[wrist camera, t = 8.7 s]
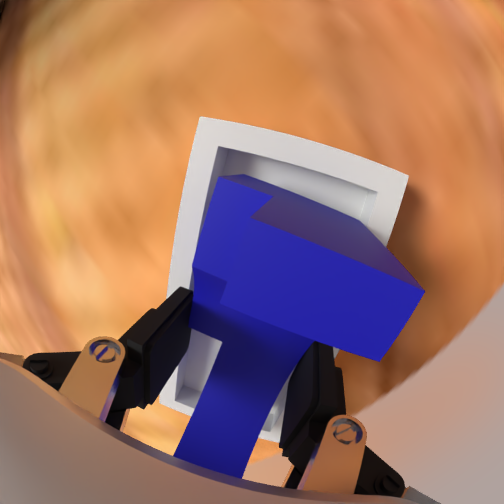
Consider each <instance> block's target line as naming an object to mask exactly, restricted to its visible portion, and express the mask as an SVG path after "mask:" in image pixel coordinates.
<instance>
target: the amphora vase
mask: <svg viewBox="0 0 504 504" xmlns="http://www.w3.org/2000/svg"><path fill="white" fill-rule="evenodd" d="M3 5H4V0H0V15H1V12H2V9H3Z"/></svg>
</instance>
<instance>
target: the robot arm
mask: <svg viewBox="0 0 504 504" xmlns="http://www.w3.org/2000/svg"><path fill="white" fill-rule="evenodd" d="M192 302H193V291H192V290H190V289H187V288H184V287H181V286H180V287H179V288H178V289H177V290H176V291H174V292H173V293H172V294H171V295H170V296H169V297H168V298H167V299H166V300H165V301H164V302H163V303H162V304H161V305H160V306H159V307H158V308H157V309H154V308H151V309H150V310H149V311H148V312H146V313H145V314H144V315H143V316H142V317H141V318H140V319H139V320H138V321H137V322H136V323H135V324H134V325H133V326H132V327H131V328H130V329H129V330H128V331H127V332H126V333H125V334H124V335H123V336H122V337H121V338H120V339H119V340H116V339H114V338H111V337H97V338H93V339H92V340H90V341H89V342H88V343H87V344H86V345H85V347H84V349H83V350H82V351H80V352H57V353H36V354H33V355H30V356H29V357H28V358H26V359H24V356H22V355H14V354H7V353H1V352H0V504H441V503H439V502H436V501H435V500H433V499H431V498H430V497H428V496H426V495H424V494H422V493H420V492H419V491H417V490H415V489H414V488H412V487H410V486H409V487H407V488H406V487H405V484H404V480H403V478H402V477H401V476H400V475H399V474H398V473H397V472H396V471H395V470H393V468H391V467H390V466H389V465H388V464H387V463H385V462H384V461H383V460H382V459H381V458H379V457H378V456H377V455H376V454H375V453H374V452H373V451H372V450H370V449H369V448H368V447H367V446H366V445H365V444H366V438H367V432H366V430H365V427H364V426H363V424H362V423H361V422H360V421H359V420H357V419H356V418H354V417H352V416H348V415H346V408H345V396H344V386H343V376H342V370H341V368H339V367H335V363H334V353H333V347H332V346H329V345H326V344H323V343H320V342H318V341H314V342H313V343H312V344H311V346H310V347H309V348H308V349H307V350H306V352H305V353H304V355H303V356H302V357H301V359H300V360H299V362H298V363H297V365H296V367H295V369H294V371H293V373H292V375H291V377H290V379H289V383H288V388H287V396H286V403H285V410H284V417H283V423H282V430H281V436H280V442H279V448H282V449H283V453H282V456H285V457H288V459H289V461H290V462H291V463H292V466H291V468H290V470H289V472H288V474H287V476H286V478H285V480H284V482H283V484H282V486H281V487H277V486H271V485H267V484H262V483H257V482H253V481H249V480H244V479H240V478H237V477H233V476H229V475H226V474H222V473H219V472H216V471H212V470H209V469H206V468H203V467H200V466H197V465H195V464H192V463H189V462H186V461H184V460H181V459H179V458H176V457H174V456H171V455H169V454H166V453H164V452H162V451H160V450H157V449H155V448H153V447H151V446H149V445H146V444H144V443H142V442H140V441H138V440H136V439H134V438H132V437H130V436H128V435H126V434H125V433H123V431H124V428H125V424H126V421H127V418H128V414H129V411H130V408H136V406H138V407H140V408H142V409H145V407H146V406H147V404H151V405H152V404H153V403H154V401H155V400H156V398H157V397H158V395H159V394H160V392H161V391H162V389H163V388H164V386H165V384H166V383H167V381H168V380H169V378H170V377H171V375H172V374H173V372H174V370H175V369H176V367H177V366H178V364H179V363H180V361H181V360H182V358H183V357H184V355H185V353H186V352H187V350H188V347H189V342H190V336H191V330H192V328H190V327H188V325H189V317H190V313H191V308H192Z"/></svg>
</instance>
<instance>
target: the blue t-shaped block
mask: <svg viewBox="0 0 504 504" xmlns="http://www.w3.org/2000/svg"><path fill="white" fill-rule="evenodd" d="M192 269H193V274H194V295H193V302H192V308H191V313H190V317H189V325H188V327H190V328H192V329H194V330H196V331H198V332H201V333H203V334H205V335H207V336H210V337H212V338H214V339H217V340H219V341H221V342H222V344H221V347H220V349H219V352H218V354H217V357H216V359H215V362H214V364H213V367H212V369H211V372H210V374H209V376H208V379H207V381H206V384H205V386H204V388H203V391H202V393H201V395H200V398H199V400H198V402H197V405H196V407H195V409H194V412H193V414H192V416H191V418H190V421H189V423H188V425H187V427H186V429H185V432H184V434H183V436H182V438H181V440H180V442H179V445H178V447H177V449H176V451H175V453H174V455H173V456H174V457H176V458H179V459H181V460H184V461H186V462H189V463H192V464H195V465H197V466H200V467H203V468H206V469H209V470H212V471H216V472H219V473H222V474H226V475H229V476H233V477H237V478H240V479H242V477H243V473H244V471H245V468H246V466H247V463H248V460H249V458H250V455H251V453H252V451H253V448H254V446H255V443H256V441H257V439H258V436H259V434H260V432H261V430H262V427H263V425H264V423H265V421H266V419H267V417H268V415H269V413H270V411H271V409H272V407H273V405H274V403H275V401H276V399H277V397H278V395H279V393H280V391H281V389H282V388H283V386H284V384H285V382H286V381H287V379H288V377H289V376H290V374H291V372H292V371H293V369H294V368H295V366H296V364H297V363H298V362H299V360H300V359H301V357H302V356H303V355H304V353H305V352H306V350H307V349H308V348H309V347H310V346H311V344H312V343H313V342H314V341H318V342H320V343H323V344H326V345H329V346H332V347H335V348H338V349H341V350H344V351H347V352H350V353H353V354H356V355H359V356H362V357H366V358H369V359H372V360H375V361H379V362H380V360H381V359H382V357H383V356H384V355H385V353H386V352H387V351H388V349H389V348H390V346H391V345H392V344H393V342H394V341H395V339H396V338H397V336H398V335H399V333H400V332H401V330H402V329H403V327H404V326H405V324H406V323H407V321H408V319H409V318H410V316H411V315H412V313H413V311H414V310H415V308H416V306H417V305H418V303H419V301H420V300H421V298H422V296H423V294H424V293H425V290H424V289H423V288H422V287H421V286H420V285H419V283H418V282H417V281H416V280H415V279H414V278H413V276H412V275H411V274H410V273H409V272H408V271H407V270H406V269H405V267H404V266H403V265H402V264H401V263H400V262H399V261H398V260H397V259H396V258H395V256H394V255H393V254H392V253H391V252H390V251H389V250H388V249H387V248H386V247H385V246H384V245H383V244H382V243H381V242H380V241H379V240H378V239H377V237H376V236H375V235H374V234H373V233H372V232H371V231H370V230H369V229H368V228H367V227H366V226H365V225H364V224H363V223H362V222H361V221H360V220H358V219H355V218H353V217H351V216H349V215H346V214H344V213H342V212H339V211H337V210H335V209H333V208H330V207H328V206H325V205H323V204H321V203H318V202H316V201H313V200H311V199H309V198H306V197H304V196H301V195H299V194H296V193H293V192H291V191H288V190H286V189H283V188H281V187H278V186H275V185H273V184H270V183H267V182H265V181H262V180H259V179H256V178H254V177H251V176H248V175H245V174H238V175H228V176H219V177H218V179H217V182H216V185H215V188H214V192H213V195H212V198H211V201H210V204H209V208H208V211H207V214H206V217H205V221H204V224H203V228H202V231H201V234H200V238H199V241H198V245H197V248H196V252H195V255H194V259H193V263H192Z"/></svg>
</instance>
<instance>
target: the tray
mask: <svg viewBox="0 0 504 504" xmlns="http://www.w3.org/2000/svg"><path fill="white" fill-rule="evenodd" d="M238 174H245V175H248V176H251V177H254V178H256V179H259V180H262V181H265V182H267V183H270V184H273V185H275V186H278V187H281V188H283V189H286V190H288V191H291V192H293V193H296V194H299V195H301V196H304V197H306V198H309V199H311V200H313V201H316V202H318V203H321V204H323V205H325V206H328V207H330V208H333V209H335V210H337V211H339V212H342V213H344V214H346V215H349V216H351V217H353V218H355V219H358V220H360V221H361V222H362V223H363V224H364V225H365V226H366V227H367V228H368V229H369V230H370V231H371V232H372V233H373V234H374V235H375V236H376V237H377V239H378V240H379V241H380V242H381V243H382V244H383V245H384V246H385V247H386V246H387V243H388V240H389V237H390V235H391V232H392V229H393V226H394V223H395V220H396V217H397V214H398V211H399V208H400V205H401V201H402V198H403V195H404V191H405V188H406V184H407V181H408V177H409V176H408V175H406V174H404V173H401V172H399V171H396V170H394V169H392V168H389V167H387V166H384V165H382V164H379V163H376V162H374V161H371V160H368V159H366V158H363V157H360V156H357V155H355V154H352V153H349V152H346V151H343V150H340V149H337V148H334V147H331V146H327V145H324V144H321V143H318V142H314V141H311V140H307V139H304V138H300V137H297V136H293V135H289V134H285V133H281V132H277V131H273V130H269V129H265V128H260V127H256V126H251V125H246V124H241V123H236V122H231V121H225V120H220V119H214V118H207V117H201V116H200V118H199V122H198V126H197V130H196V134H195V138H194V142H193V146H192V151H191V155H190V159H189V164H188V168H187V173H186V178H185V183H184V188H183V193H182V198H181V203H180V209H179V214H178V220H177V226H176V232H175V238H174V245H173V251H172V258H171V265H170V273H169V281H168V289H167V298H168V297H169V296H170V295H171V294H172V293H173V292H174V291H176V290H177V289H178V288H179V287H180V286H181V287H184V288H187V289H190V290H192V291H193V295H194V274H193V269H192V263H193V259H194V255H195V252H196V248H197V245H198V241H199V238H200V234H201V231H202V228H203V224H204V221H205V217H206V214H207V211H208V208H209V204H210V201H211V198H212V195H213V192H214V188H215V185H216V182H217V179H218V177H219V176H228V175H238ZM167 298H166V299H167ZM221 344H222V342H221V341H219V340H217V339H214V338H212V337H210V336H207V335H205V334H203V333H201V332H198V331H196V330H194V329H192V330H191V336H190V342H189V347H188V350H187V352H186V353H185V355H184V357H183V358H182V360H181V361H180V363H179V364H178V366H177V367H176V369H175V370H174V372H173V374H172V375H171V377H170V378H169V380H168V381H167V383H166V384H165V386H164V388H163V389H162V391H161V392H160V404H163V405H165V406H167V407H169V408H172V409H174V410H177V411H179V412H181V413H184V414H186V415H189V416H192V414H193V412H194V409H195V407H196V405H197V402H198V400H199V398H200V395H201V393H202V391H203V388H204V386H205V384H206V381H207V379H208V376H209V374H210V372H211V369H212V367H213V364H214V362H215V359H216V357H217V354H218V352H219V349H220V347H221ZM339 350H340V349H338V348H335V347H333V353H334V359H335V357H336V355H337V353H338V352H339ZM296 365H297V364H296ZM295 367H296V366H295ZM294 369H295V368H294ZM294 369H293V371H294ZM293 371H292V372H291V374H290V376H289V377H288V379H287V381H286V382H285V384H284V386H283V388H282V389H281V391H280V393H279V395H278V397H277V399H276V401H275V403H274V405H273V407H272V409H271V411H270V413H269V415H268V417H267V419H266V421H265V423H264V425H263V427H262V430H261V432H260V434H259V436H258V438H261V439H265V440H270V441H274V442H278V443H279V442H280V436H281V430H282V423H283V417H284V410H285V403H286V396H287V388H288V383H289V379H290V377H291V375H292V373H293Z"/></svg>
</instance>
